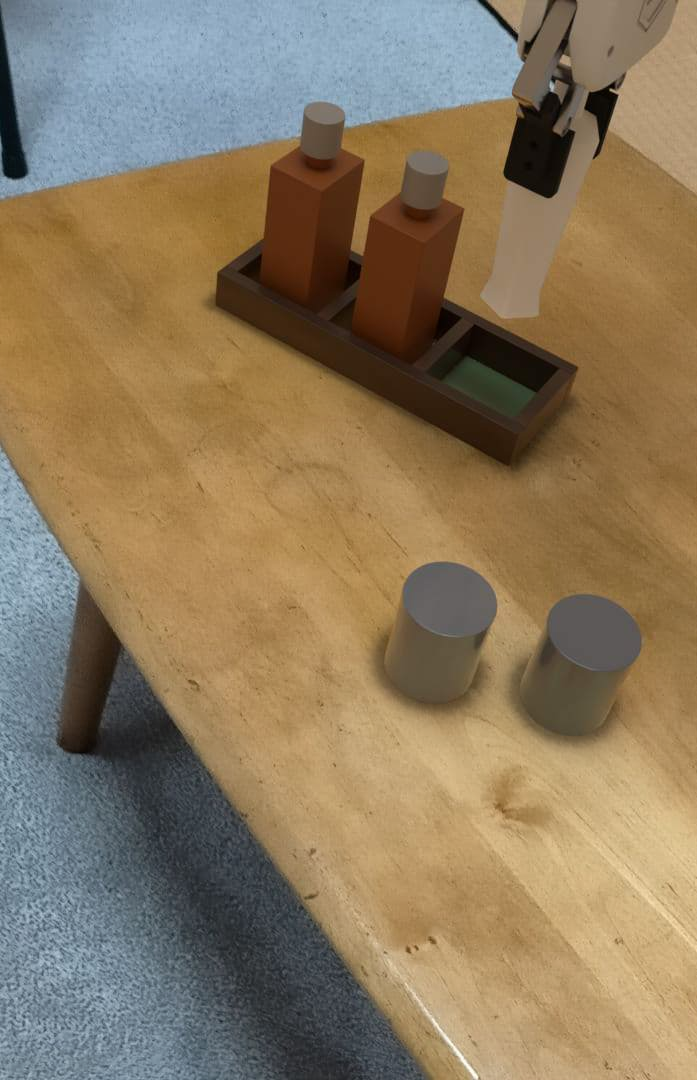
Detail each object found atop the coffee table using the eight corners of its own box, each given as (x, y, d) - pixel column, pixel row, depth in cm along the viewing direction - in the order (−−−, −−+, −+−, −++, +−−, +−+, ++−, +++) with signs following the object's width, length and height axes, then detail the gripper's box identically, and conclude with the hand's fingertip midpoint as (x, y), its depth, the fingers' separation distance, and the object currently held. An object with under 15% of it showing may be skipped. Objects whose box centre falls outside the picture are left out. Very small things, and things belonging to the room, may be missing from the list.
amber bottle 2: (432, 348, 87) (476, 159, 75) (394, 384, 84) (435, 192, 72) (384, 323, 88) (421, 133, 77) (345, 357, 85) (378, 165, 74)
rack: (285, 261, 92) (290, 218, 89) (564, 408, 85) (579, 367, 83) (214, 315, 87) (216, 271, 84) (505, 476, 80) (518, 434, 77)
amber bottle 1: (342, 301, 89) (373, 110, 78) (302, 334, 86) (328, 140, 75) (297, 277, 90) (321, 85, 79) (256, 309, 87) (275, 114, 76)
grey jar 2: (618, 700, 70) (657, 626, 64) (579, 761, 67) (617, 688, 61) (541, 654, 71) (573, 578, 66) (499, 712, 68) (530, 636, 63)
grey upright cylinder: (486, 670, 70) (514, 593, 65) (441, 729, 67) (467, 653, 62) (411, 624, 71) (433, 546, 66) (364, 681, 68) (383, 603, 63)
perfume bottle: (465, 309, 76) (522, 83, 65) (486, 271, 79) (544, 48, 68) (536, 334, 75) (606, 110, 64) (554, 294, 78) (625, 73, 67)
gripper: (651, -107, 50) (539, 262, 64) (791, -198, 60) (669, 137, 74) (493, -168, 52) (417, 202, 66) (654, -246, 62) (560, 88, 76)
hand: (551, 164), depth 70 cm, fingers closed on perfume bottle, 4 cm apart
